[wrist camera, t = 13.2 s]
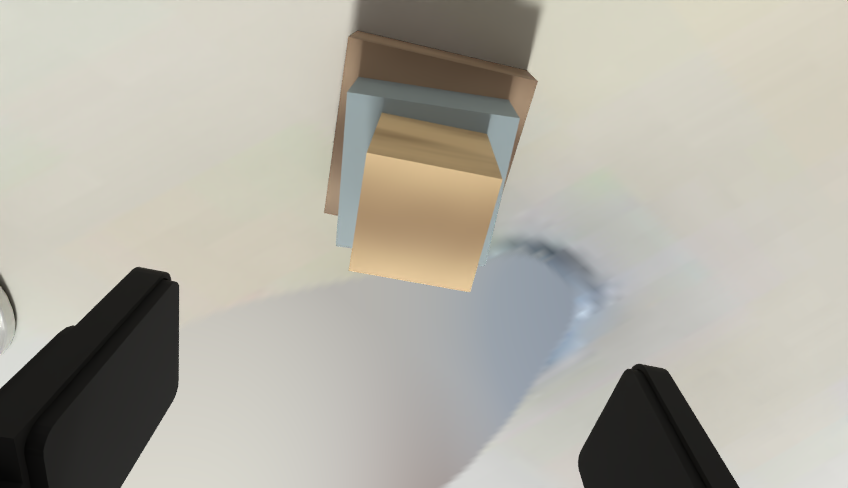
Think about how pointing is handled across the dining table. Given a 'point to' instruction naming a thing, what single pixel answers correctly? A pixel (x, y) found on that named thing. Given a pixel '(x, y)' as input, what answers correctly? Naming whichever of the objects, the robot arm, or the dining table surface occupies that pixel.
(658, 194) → the dining table surface
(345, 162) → the slate-grey block
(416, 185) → the oak block
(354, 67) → the walnut slab
